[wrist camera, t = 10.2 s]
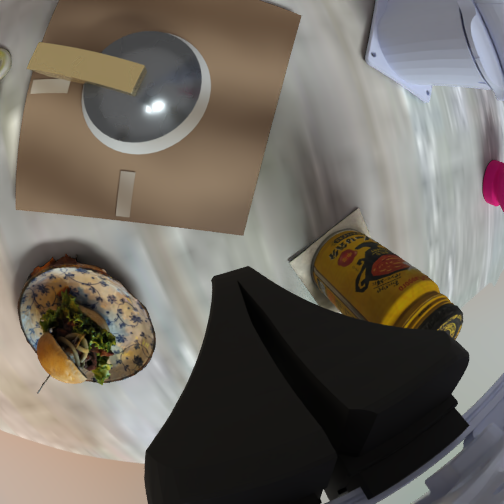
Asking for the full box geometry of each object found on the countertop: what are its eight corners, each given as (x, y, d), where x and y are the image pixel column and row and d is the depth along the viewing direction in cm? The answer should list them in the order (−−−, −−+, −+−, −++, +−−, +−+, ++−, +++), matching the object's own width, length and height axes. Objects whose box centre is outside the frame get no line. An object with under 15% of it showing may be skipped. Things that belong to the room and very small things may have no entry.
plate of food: (152, 374, 23) (159, 442, 17) (38, 359, 19) (21, 421, 13) (161, 261, 19) (164, 330, 13) (15, 242, 15) (-34, 298, 9)
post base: (72, -15, 8) (67, -22, 7) (296, 19, 14) (303, 13, 13) (20, 206, 14) (13, 211, 13) (240, 231, 20) (244, 237, 19)
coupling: (215, 62, 13) (228, 46, 10) (171, 154, 15) (172, 161, 12) (79, 22, 9) (62, 2, 6) (37, 114, 11) (9, 113, 8)
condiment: (357, 206, 22) (476, 276, 11) (383, 272, 26) (469, 344, 16) (288, 261, 22) (381, 371, 12) (327, 318, 26) (400, 409, 16)
